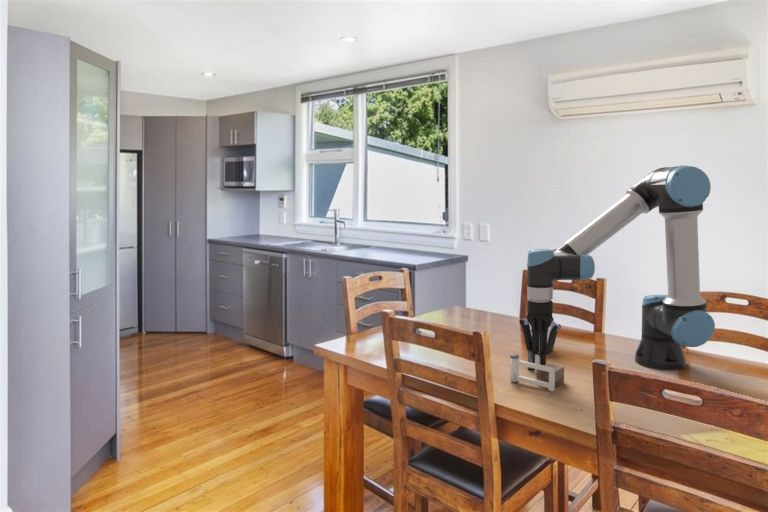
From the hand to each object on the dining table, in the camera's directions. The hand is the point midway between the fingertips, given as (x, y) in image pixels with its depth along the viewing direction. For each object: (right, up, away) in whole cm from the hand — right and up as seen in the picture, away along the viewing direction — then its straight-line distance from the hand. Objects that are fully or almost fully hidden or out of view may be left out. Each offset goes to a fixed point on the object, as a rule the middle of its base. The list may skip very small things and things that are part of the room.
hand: (539, 374), depth 168 cm
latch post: (0, -1, +11) cm, 11 cm away
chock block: (+3, -2, -2) cm, 4 cm away
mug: (+8, +2, +31) cm, 32 cm away
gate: (-4, -2, -5) cm, 6 cm away
